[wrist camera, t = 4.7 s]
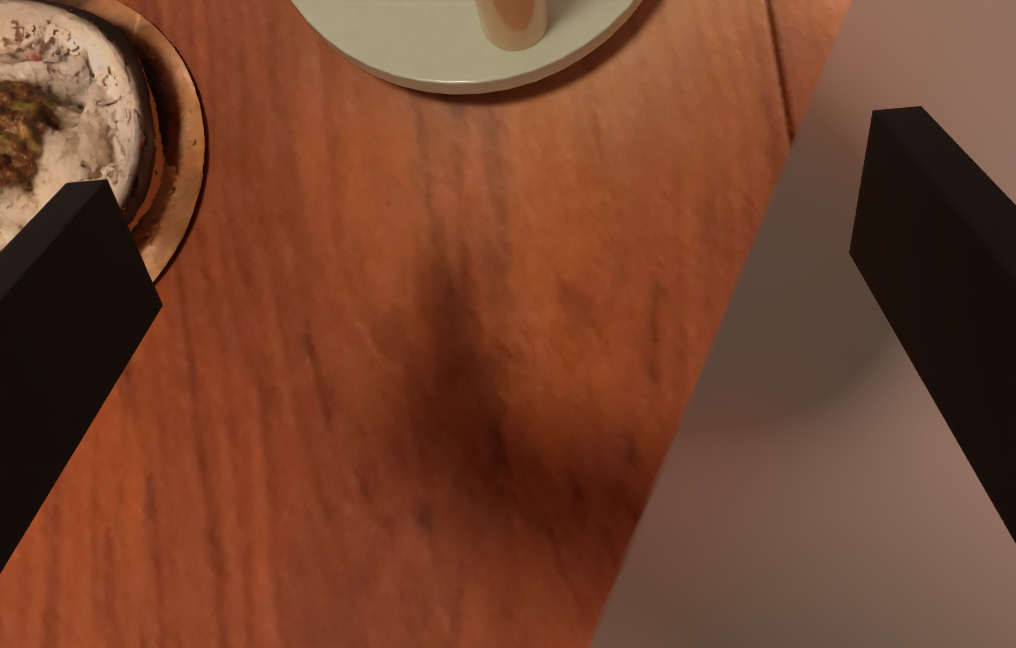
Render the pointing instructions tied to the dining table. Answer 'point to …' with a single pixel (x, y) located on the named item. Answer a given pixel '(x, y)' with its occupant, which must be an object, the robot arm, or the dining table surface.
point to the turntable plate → (464, 38)
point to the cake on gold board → (97, 118)
